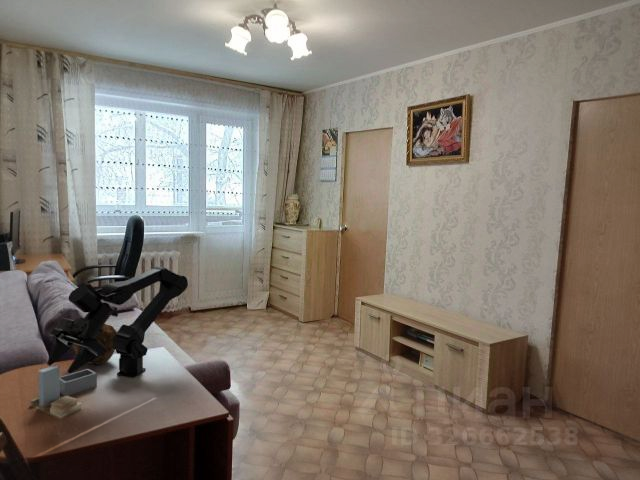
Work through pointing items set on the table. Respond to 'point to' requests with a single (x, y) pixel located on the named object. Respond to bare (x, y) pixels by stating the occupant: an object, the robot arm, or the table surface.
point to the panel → (49, 384)
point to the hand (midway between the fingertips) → (58, 368)
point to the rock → (106, 340)
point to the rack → (58, 406)
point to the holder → (77, 382)
